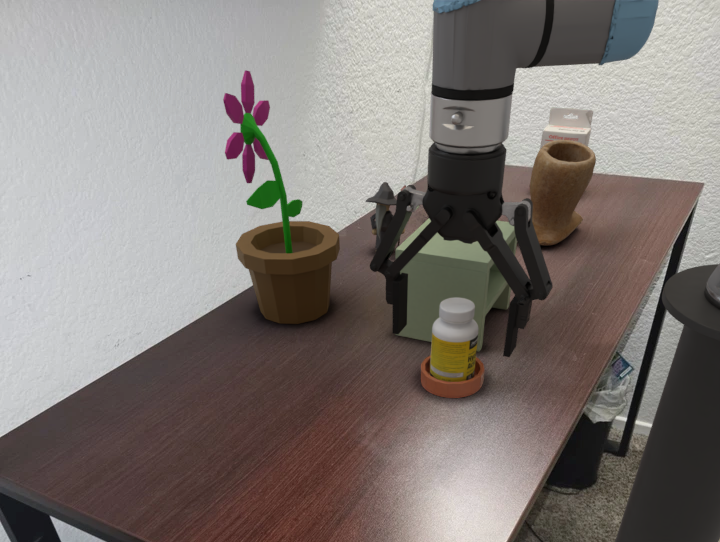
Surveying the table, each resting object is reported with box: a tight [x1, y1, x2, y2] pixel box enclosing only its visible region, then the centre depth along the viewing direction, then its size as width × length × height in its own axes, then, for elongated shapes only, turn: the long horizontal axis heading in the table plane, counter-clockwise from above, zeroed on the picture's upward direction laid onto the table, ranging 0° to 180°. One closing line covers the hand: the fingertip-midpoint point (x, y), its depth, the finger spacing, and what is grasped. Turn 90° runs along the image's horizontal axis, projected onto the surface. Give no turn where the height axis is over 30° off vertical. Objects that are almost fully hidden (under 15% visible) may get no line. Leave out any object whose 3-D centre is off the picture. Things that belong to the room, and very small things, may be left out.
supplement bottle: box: [430, 298, 479, 382], centre depth 78 cm, size 5×5×10 cm
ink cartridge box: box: [539, 106, 594, 150], centre depth 127 cm, size 9×5×15 cm, turn 66°
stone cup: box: [529, 140, 597, 246], centre depth 110 cm, size 15×12×15 cm
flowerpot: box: [222, 70, 341, 325], centre depth 88 cm, size 14×14×30 cm
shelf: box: [394, 217, 518, 352], centre depth 89 cm, size 12×14×12 cm
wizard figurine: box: [365, 181, 407, 254], centre depth 108 cm, size 8×6×12 cm
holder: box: [420, 354, 485, 399], centre depth 80 cm, size 8×8×2 cm
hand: (452, 340), depth 77 cm, fingers open, 13 cm apart
